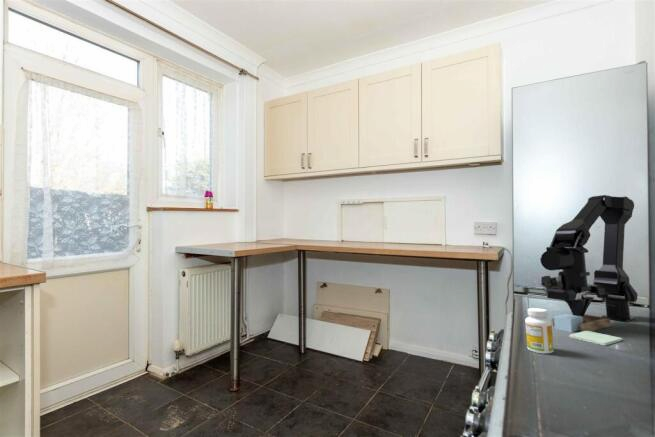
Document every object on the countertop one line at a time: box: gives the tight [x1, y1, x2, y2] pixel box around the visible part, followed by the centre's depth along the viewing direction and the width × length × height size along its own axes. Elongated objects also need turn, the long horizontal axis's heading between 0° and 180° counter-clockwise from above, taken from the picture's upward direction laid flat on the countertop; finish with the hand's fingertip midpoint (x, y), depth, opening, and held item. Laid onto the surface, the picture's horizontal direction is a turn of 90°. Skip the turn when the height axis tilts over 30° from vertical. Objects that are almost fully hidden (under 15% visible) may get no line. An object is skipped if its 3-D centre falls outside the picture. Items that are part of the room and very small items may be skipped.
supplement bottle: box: [524, 307, 555, 355], centre depth 78 cm, size 5×5×10 cm
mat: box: [568, 331, 623, 346], centre depth 85 cm, size 8×8×1 cm
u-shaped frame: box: [552, 313, 612, 332], centre depth 96 cm, size 13×8×2 cm, turn 114°
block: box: [553, 313, 584, 333], centre depth 94 cm, size 6×4×4 cm
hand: (578, 320), depth 96 cm, fingers closed
